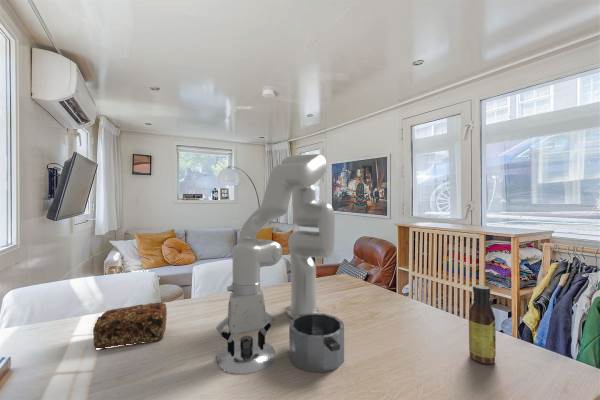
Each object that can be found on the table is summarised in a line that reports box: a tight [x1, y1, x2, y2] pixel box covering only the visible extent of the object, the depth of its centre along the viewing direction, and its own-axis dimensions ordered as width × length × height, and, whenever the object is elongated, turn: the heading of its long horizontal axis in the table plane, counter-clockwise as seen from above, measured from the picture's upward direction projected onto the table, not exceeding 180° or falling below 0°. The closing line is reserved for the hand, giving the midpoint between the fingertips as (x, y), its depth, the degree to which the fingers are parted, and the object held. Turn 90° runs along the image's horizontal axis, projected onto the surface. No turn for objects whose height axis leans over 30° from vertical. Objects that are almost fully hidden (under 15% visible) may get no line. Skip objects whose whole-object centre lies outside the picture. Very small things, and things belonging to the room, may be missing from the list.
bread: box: [92, 302, 168, 350], centre depth 90 cm, size 19×11×10 cm, turn 107°
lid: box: [216, 335, 276, 375], centre depth 80 cm, size 16×16×5 cm
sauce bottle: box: [468, 284, 497, 365], centre depth 79 cm, size 6×6×20 cm
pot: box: [288, 312, 345, 374], centre depth 81 cm, size 20×15×9 cm
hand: (246, 350), depth 81 cm, fingers open, 7 cm apart
